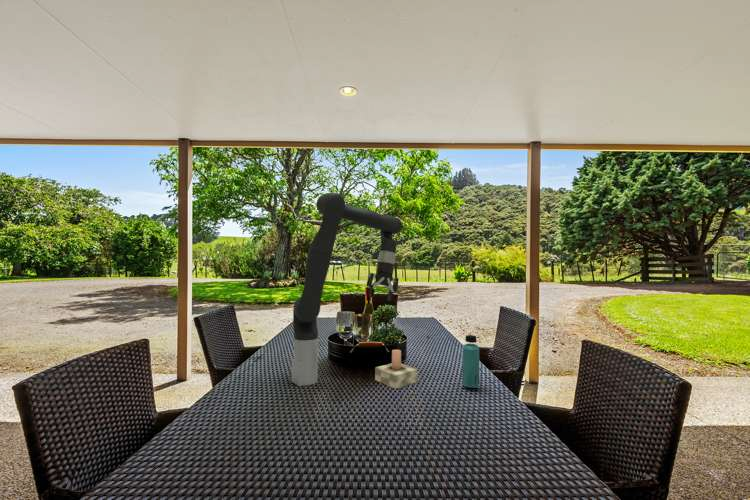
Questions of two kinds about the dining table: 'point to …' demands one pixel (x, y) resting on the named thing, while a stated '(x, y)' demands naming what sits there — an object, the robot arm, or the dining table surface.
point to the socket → (396, 375)
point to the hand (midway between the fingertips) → (380, 299)
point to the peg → (396, 360)
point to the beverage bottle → (470, 363)
